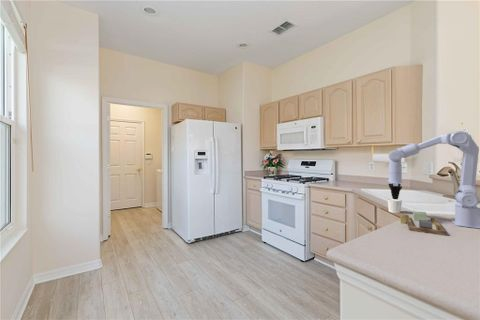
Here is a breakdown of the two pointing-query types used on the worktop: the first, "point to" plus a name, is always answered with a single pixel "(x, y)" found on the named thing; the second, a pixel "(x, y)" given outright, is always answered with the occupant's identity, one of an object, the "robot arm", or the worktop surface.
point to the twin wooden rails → (426, 230)
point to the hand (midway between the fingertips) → (394, 198)
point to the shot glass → (394, 205)
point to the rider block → (419, 216)
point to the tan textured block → (402, 218)
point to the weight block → (425, 224)
